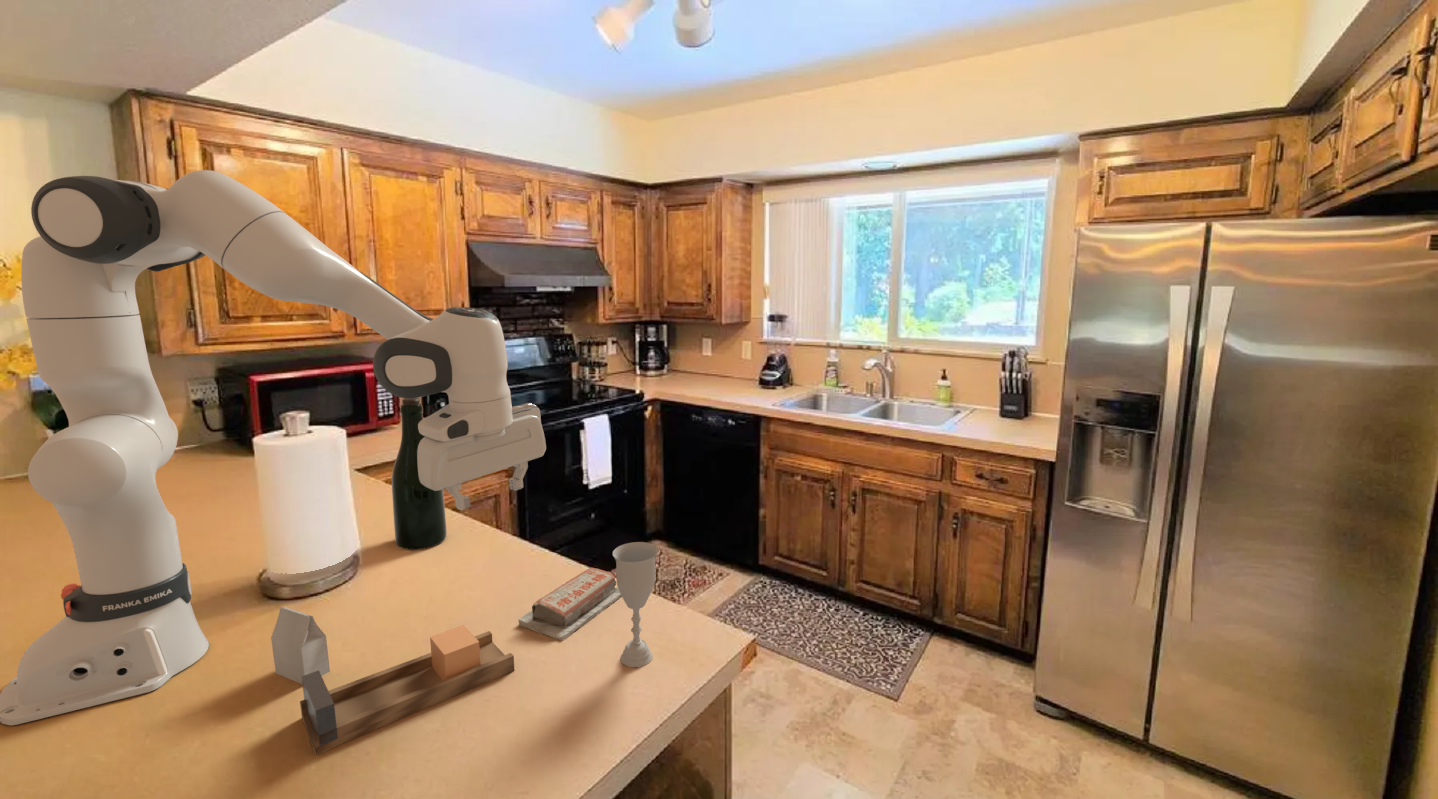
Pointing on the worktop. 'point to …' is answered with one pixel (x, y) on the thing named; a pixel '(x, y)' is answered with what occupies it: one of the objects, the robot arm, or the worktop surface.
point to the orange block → (454, 652)
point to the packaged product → (572, 604)
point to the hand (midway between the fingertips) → (491, 498)
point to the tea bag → (298, 645)
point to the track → (402, 693)
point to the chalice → (635, 593)
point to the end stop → (319, 706)
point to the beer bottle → (414, 489)
